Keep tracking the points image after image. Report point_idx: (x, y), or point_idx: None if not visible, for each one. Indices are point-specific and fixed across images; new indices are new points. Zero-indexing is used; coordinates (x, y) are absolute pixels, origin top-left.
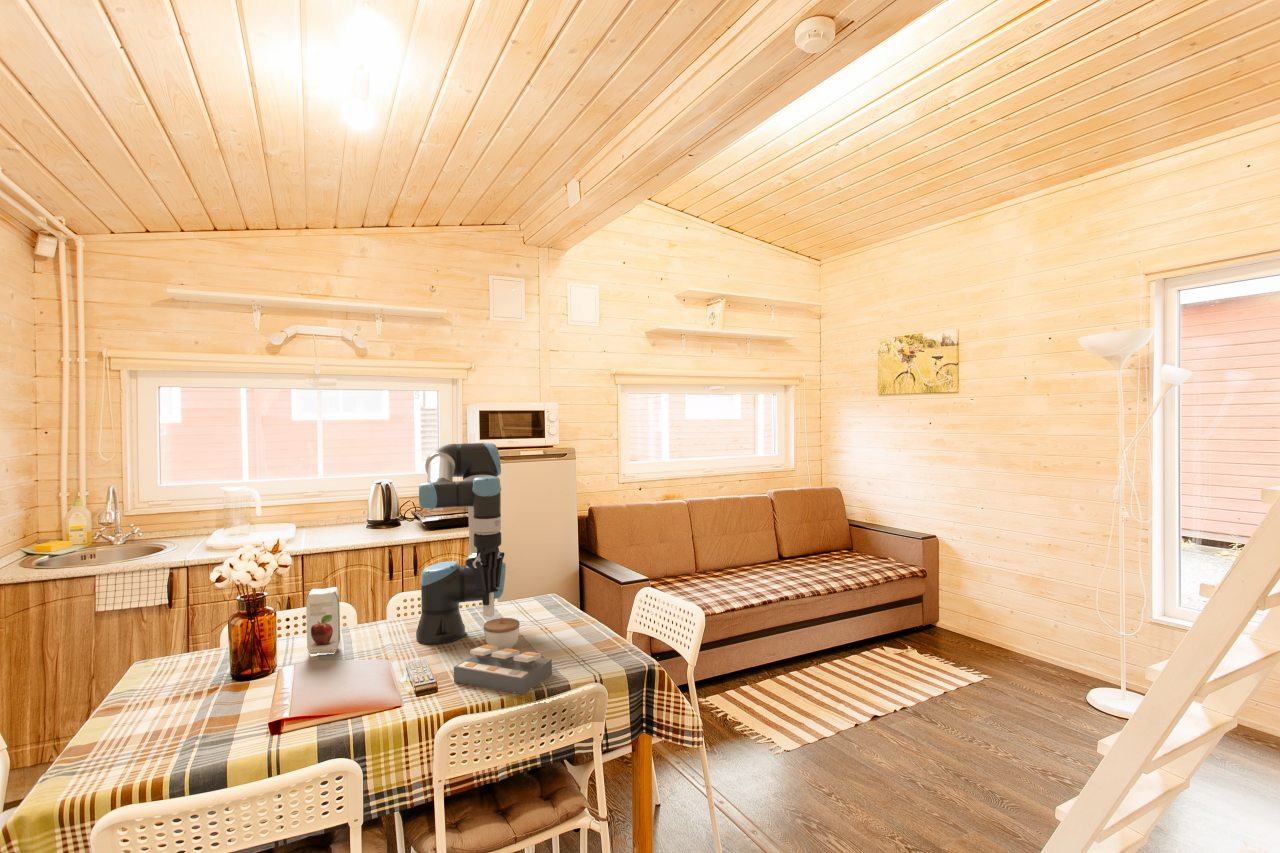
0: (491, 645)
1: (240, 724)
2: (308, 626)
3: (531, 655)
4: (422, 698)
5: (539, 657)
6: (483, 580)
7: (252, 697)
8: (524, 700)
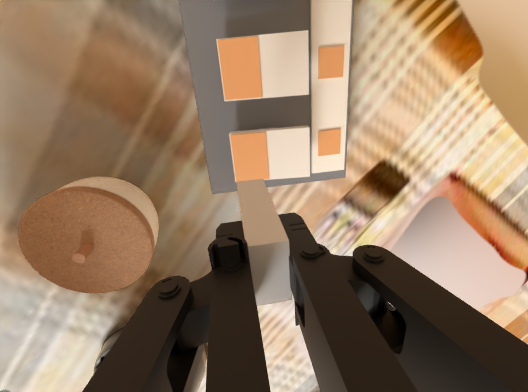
0: (234, 158)
1: (524, 309)
2: None
3: None
4: (415, 163)
5: None
6: (488, 343)
7: None
8: None
